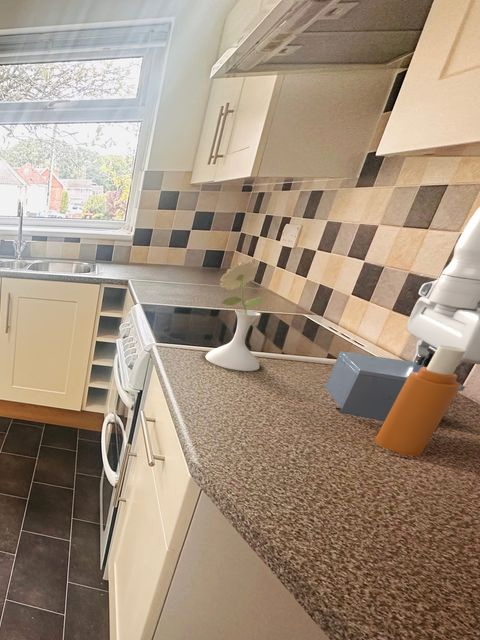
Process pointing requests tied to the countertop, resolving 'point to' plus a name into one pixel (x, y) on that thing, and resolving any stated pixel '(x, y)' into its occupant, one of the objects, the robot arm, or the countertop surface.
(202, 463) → the countertop surface
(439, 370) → the bottle
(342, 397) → the box
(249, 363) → the flower in vase
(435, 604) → the countertop surface
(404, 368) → the lid
